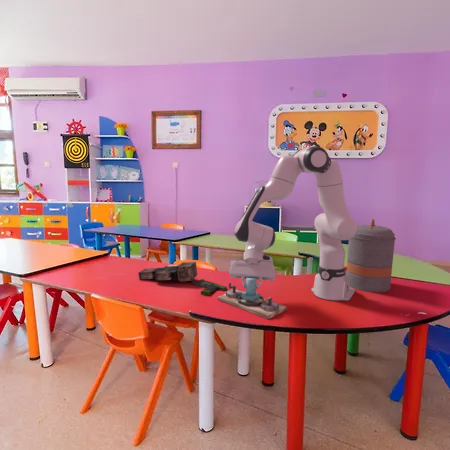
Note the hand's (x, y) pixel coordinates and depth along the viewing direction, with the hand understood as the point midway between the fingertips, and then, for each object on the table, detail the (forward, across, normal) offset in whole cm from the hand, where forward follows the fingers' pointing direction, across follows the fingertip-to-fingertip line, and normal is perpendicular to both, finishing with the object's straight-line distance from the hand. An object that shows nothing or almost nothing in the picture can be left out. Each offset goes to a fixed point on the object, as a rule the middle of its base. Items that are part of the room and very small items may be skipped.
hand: (251, 287), depth 140 cm
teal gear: (+3, 0, +4) cm, 5 cm away
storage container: (-22, +59, +33) cm, 71 cm away
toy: (-13, -46, +25) cm, 54 cm away
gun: (-6, -24, +19) cm, 31 cm away
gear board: (+5, 0, +6) cm, 8 cm away
